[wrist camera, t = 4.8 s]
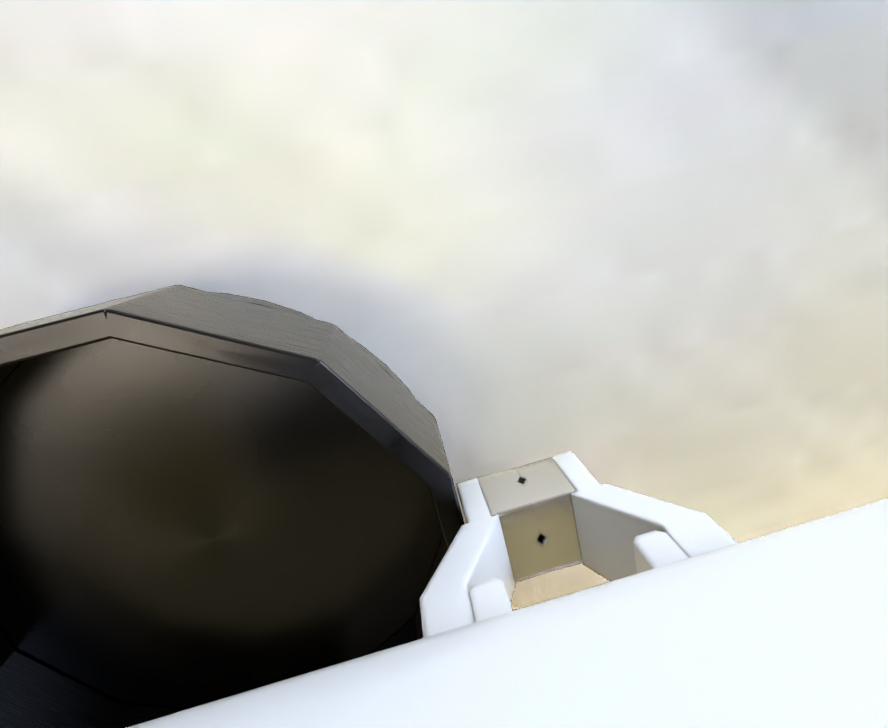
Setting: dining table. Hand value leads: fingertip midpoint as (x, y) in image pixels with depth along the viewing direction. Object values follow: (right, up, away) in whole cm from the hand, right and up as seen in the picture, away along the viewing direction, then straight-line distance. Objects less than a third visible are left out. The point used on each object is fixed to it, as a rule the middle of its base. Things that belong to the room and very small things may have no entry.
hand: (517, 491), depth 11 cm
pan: (-7, -5, +3) cm, 9 cm away
